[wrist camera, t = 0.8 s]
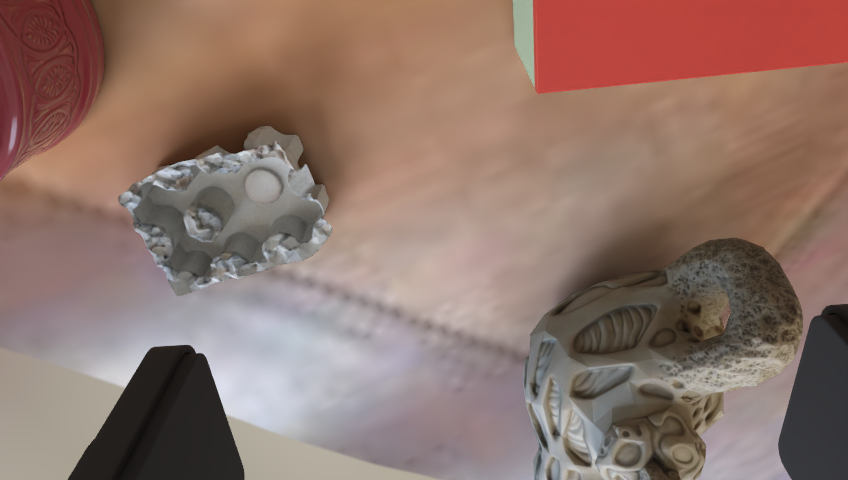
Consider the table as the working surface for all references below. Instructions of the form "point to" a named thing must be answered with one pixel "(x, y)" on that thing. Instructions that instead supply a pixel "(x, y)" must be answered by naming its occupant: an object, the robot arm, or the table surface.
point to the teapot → (655, 362)
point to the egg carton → (230, 212)
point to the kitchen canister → (45, 74)
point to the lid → (680, 39)
